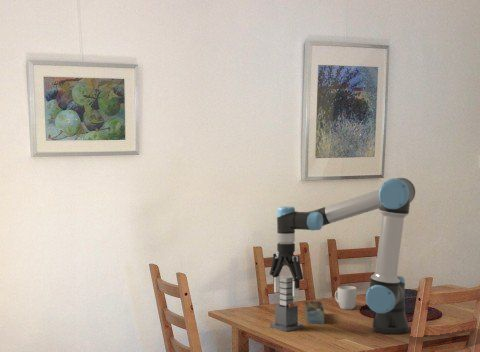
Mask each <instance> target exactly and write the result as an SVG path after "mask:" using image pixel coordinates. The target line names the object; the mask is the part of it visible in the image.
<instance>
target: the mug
mask: <svg viewBox="0 0 480 352" xmlns="http://www.w3.org/2000/svg"><path fill="white" fill-rule="evenodd" d="M357 290H358V289H357V287H355V286H352V285H350V286H349V285H341V286H340V285H339V286H338V287H337V290H336V291H335V293H334V298H335V299H334V300H335V301H336V302H337V303H338V306H339V307H340V309H342V310H354V309H355V307H356V304H357V296H358V295H357V292H358V291H357Z"/></svg>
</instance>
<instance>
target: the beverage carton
mask: <svg viewBox="0 0 480 352" xmlns="http://www.w3.org/2000/svg"><path fill="white" fill-rule="evenodd" d="M324 310H325V309H324V306H323V304H322V301H319V300H318V301H304V316H305V320H306V322H307V324H309V325H310V324H312V325H314V324H323V325H324V324H325V311H324Z"/></svg>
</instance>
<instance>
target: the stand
mask: <svg viewBox="0 0 480 352" xmlns="http://www.w3.org/2000/svg"><path fill="white" fill-rule="evenodd" d="M298 308H299V306H298V305H297V304H296V305H295V303H294V302H293V303H291V304H288V307H283V306H279V304H276V305H275V306H274V311H275V312H274V317H275V318H274V322H273V323H272V322H271V323H269V328H271V329H274V328H275V330H279V331H281V332H291V331H294V330H295V329H296V330H300V329H303V328H304V324H303V323H299V321H298V320H299V317H298V316H299V315H298V314H299V313H298ZM296 330H295V331H296Z"/></svg>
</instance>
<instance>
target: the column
mask: <svg viewBox="0 0 480 352" xmlns="http://www.w3.org/2000/svg"><path fill="white" fill-rule="evenodd" d="M279 277H280V281H279V282H280V287H279V288H280V292H278V293H279V304H278V305H279V306H283V307H288V304H291V303H293V304H294V296H293V280H294V278H293V276H288V275H286V276H279Z"/></svg>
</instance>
